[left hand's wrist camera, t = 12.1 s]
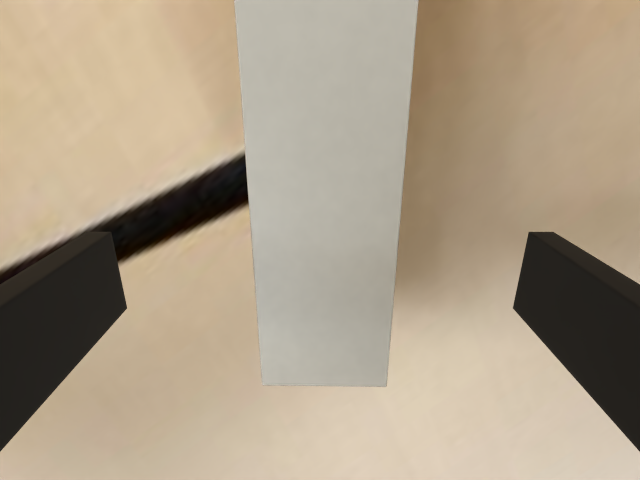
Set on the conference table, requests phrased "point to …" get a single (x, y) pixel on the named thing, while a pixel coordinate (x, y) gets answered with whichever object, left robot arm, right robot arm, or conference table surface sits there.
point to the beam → (325, 180)
